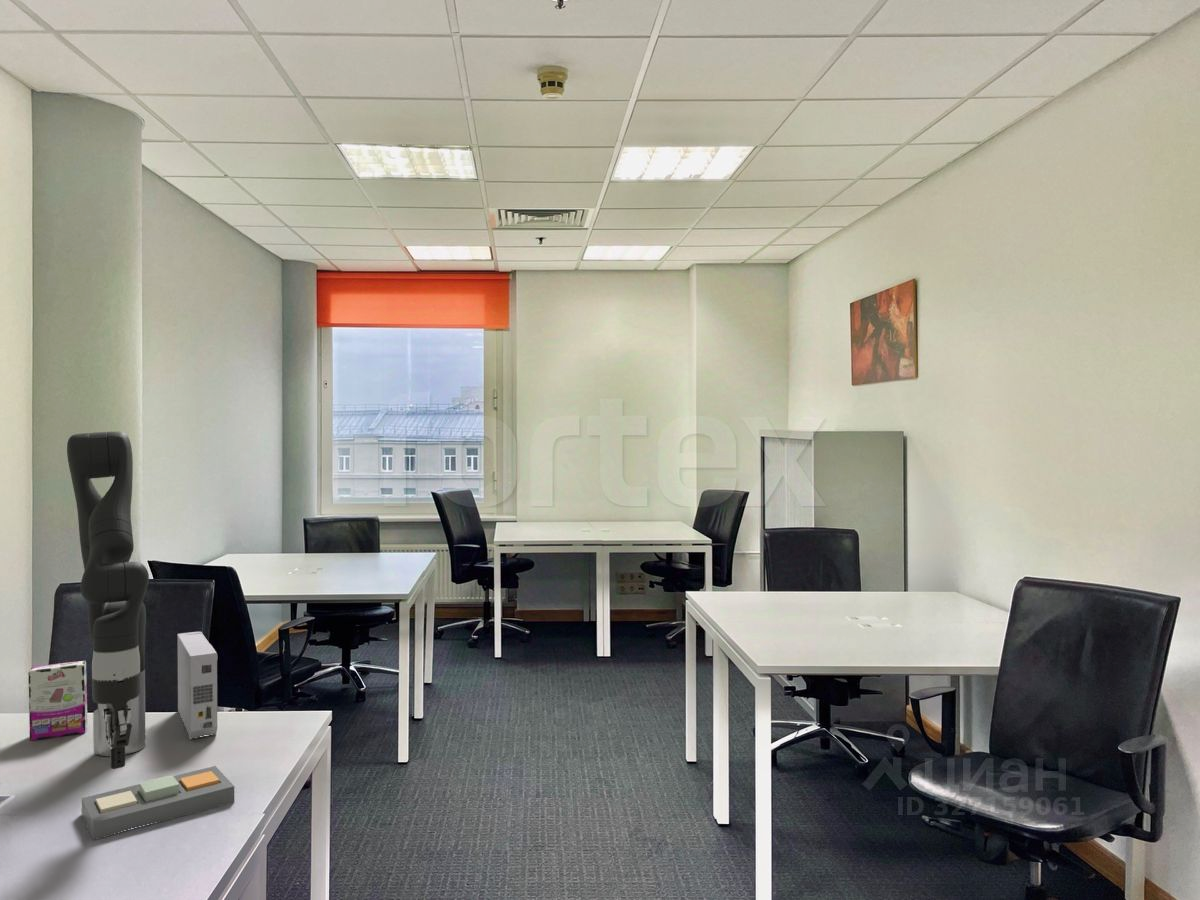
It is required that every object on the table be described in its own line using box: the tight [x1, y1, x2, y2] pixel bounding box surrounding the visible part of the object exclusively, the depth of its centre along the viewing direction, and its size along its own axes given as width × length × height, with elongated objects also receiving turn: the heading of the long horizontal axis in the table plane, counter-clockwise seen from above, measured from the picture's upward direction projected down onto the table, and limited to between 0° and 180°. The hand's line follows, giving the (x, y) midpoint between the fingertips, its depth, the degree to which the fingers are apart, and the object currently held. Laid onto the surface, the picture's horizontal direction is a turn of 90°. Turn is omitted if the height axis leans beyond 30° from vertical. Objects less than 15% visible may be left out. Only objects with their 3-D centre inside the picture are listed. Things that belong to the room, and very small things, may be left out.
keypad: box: [81, 765, 235, 841], centre depth 151 cm, size 23×13×3 cm, turn 130°
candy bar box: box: [27, 660, 88, 742], centre depth 191 cm, size 11×5×16 cm, turn 117°
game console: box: [177, 631, 218, 739], centre depth 198 cm, size 6×27×20 cm, turn 33°
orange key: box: [180, 771, 219, 791], centre depth 156 cm, size 6×6×2 cm
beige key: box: [96, 791, 137, 814], centre depth 147 cm, size 6×6×2 cm
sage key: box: [139, 774, 179, 802], centre depth 151 cm, size 6×6×2 cm
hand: (117, 766), depth 147 cm, fingers closed
